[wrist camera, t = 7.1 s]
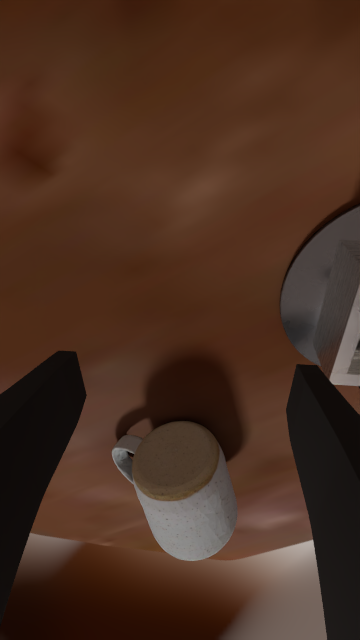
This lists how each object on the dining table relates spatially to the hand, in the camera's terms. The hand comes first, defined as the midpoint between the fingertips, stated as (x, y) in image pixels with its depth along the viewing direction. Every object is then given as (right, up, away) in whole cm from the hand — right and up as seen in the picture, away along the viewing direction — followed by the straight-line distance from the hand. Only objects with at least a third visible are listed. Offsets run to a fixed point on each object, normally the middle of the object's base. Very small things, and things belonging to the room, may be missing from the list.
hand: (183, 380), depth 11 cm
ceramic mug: (-1, -10, +19) cm, 21 cm away
